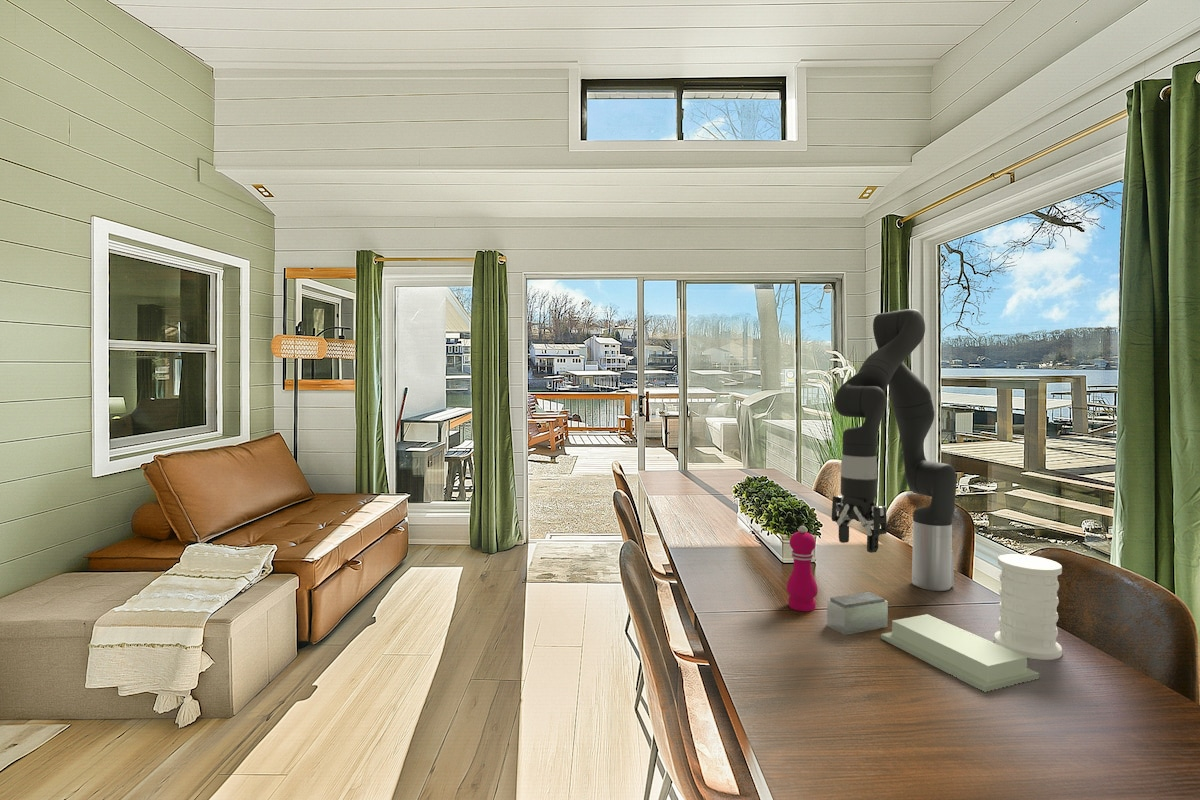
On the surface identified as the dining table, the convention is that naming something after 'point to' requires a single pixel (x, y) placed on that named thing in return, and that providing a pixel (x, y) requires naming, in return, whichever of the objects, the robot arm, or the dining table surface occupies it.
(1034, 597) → the decorative container
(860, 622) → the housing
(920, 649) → the stand
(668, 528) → the dining table surface
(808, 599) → the pepper mill
